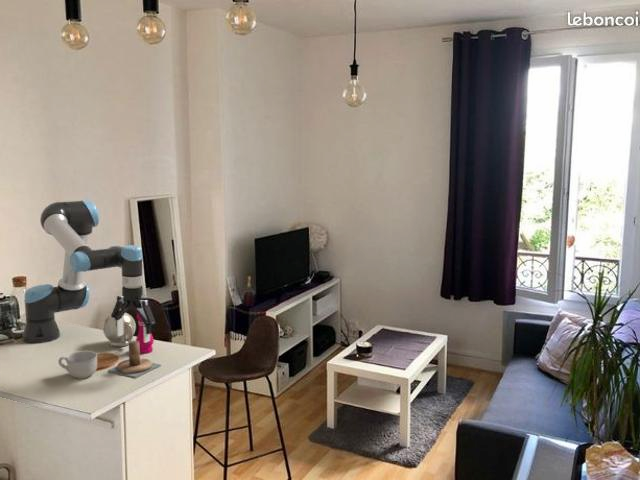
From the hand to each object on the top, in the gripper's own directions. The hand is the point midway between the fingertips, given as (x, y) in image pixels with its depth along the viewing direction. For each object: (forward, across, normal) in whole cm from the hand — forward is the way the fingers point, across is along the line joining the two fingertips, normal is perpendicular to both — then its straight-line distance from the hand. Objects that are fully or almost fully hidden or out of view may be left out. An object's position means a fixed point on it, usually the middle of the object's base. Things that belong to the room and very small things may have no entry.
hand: (133, 338), depth 229 cm
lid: (+12, 0, 0) cm, 12 cm away
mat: (+12, +1, 0) cm, 12 cm away
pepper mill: (+13, -9, +17) cm, 23 cm away
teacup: (+13, -13, -15) cm, 24 cm away
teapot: (+13, -23, +18) cm, 32 cm away
